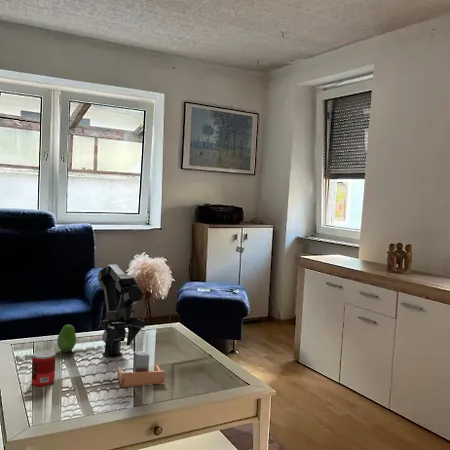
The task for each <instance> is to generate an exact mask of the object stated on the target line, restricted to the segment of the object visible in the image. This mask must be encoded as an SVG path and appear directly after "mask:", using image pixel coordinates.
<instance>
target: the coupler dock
mask: <svg viewBox="0 0 450 450" xmlns="http://www.w3.org/2000/svg"><path fill="white" fill-rule="evenodd" d="M154 367H155V369H154V370H152V371H149V370H148V371H146V372H133V371H132V372H130V371H129V372H122V368H121V367H120V366H119V367H117V373H116V375H117V378H118V382H119V384H120V387H121V388H132V387H142V386H143V385H146V386H151V385H150V384H160V385H162V384H161V383H164V384H165V373H166V372H165V370H162V369H161V368H160V367H159V365H158V364H155V366H154ZM143 387H144V386H143Z"/></svg>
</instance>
